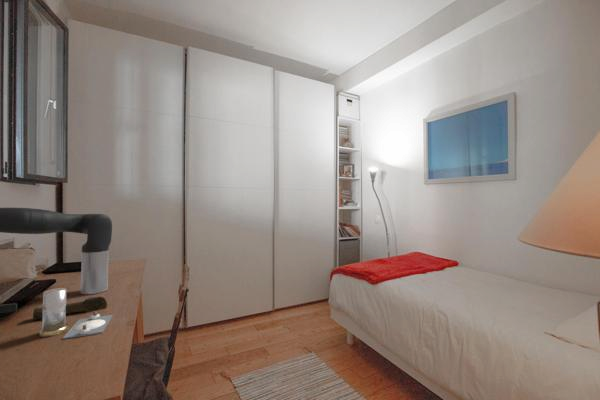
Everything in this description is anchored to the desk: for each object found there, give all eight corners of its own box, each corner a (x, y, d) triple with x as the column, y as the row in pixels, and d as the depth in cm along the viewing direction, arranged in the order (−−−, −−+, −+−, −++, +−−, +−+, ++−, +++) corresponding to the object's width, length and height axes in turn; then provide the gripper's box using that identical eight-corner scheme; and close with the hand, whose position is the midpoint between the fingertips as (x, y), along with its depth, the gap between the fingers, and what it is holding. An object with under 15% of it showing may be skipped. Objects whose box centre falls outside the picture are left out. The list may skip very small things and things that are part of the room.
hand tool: (31, 323, 83) (31, 308, 83) (35, 318, 86) (36, 304, 86) (105, 311, 93) (106, 298, 93) (106, 307, 96) (107, 294, 96)
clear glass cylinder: (45, 329, 78) (46, 288, 79) (70, 325, 81) (71, 286, 81) (35, 338, 73) (36, 295, 73) (62, 334, 75) (64, 292, 76)
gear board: (78, 320, 84) (79, 312, 85) (112, 315, 88) (112, 308, 88) (62, 339, 73) (62, 330, 73) (102, 333, 76) (102, 324, 76)
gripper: (-108, 319, 60) (-9, 308, 67) (-57, 298, 73) (22, 291, 80) (-109, 352, 60) (-10, 338, 66) (-58, 326, 73) (21, 316, 79)
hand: (8, 312), depth 73 cm, fingers open, 8 cm apart
